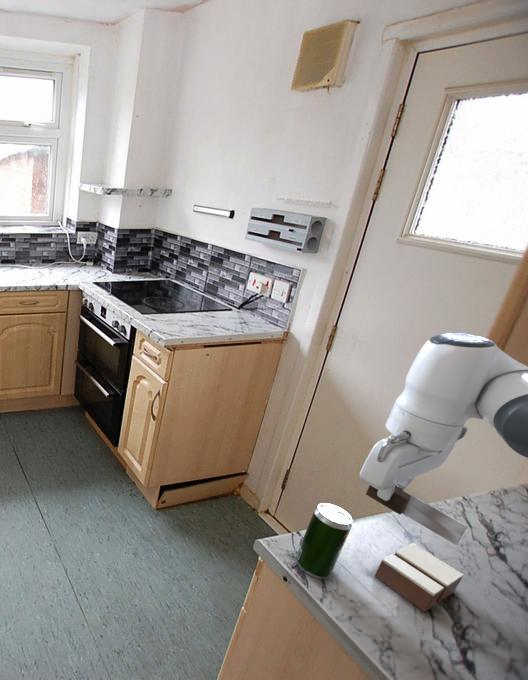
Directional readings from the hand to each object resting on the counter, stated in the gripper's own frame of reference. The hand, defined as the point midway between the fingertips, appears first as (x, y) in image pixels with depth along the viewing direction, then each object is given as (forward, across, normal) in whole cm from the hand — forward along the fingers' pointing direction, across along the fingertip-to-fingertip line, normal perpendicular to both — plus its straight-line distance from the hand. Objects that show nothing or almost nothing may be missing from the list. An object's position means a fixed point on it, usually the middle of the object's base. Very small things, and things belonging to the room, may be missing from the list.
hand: (389, 495), depth 80 cm
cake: (+13, +4, -8) cm, 16 cm away
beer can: (+14, -13, +2) cm, 19 cm away
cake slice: (+13, -2, -8) cm, 16 cm away
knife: (+2, 0, -4) cm, 4 cm away
